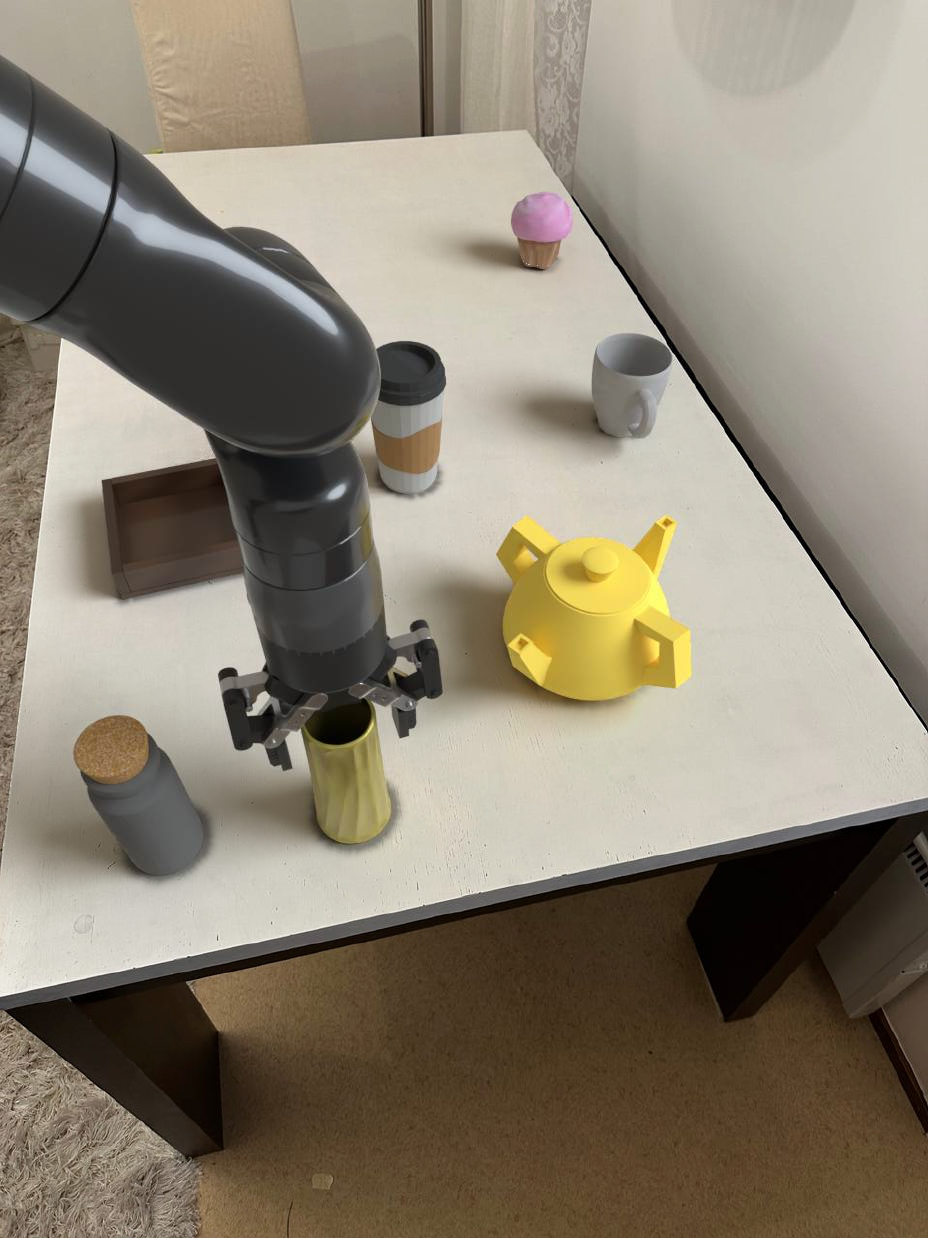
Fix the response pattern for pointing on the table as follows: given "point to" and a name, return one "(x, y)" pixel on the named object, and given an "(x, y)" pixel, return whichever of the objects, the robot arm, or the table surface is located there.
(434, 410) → the coffee cup
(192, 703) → the table surface
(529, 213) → the cupcake
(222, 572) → the tray
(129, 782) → the bottle
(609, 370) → the mug
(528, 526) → the teapot
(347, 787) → the vase
